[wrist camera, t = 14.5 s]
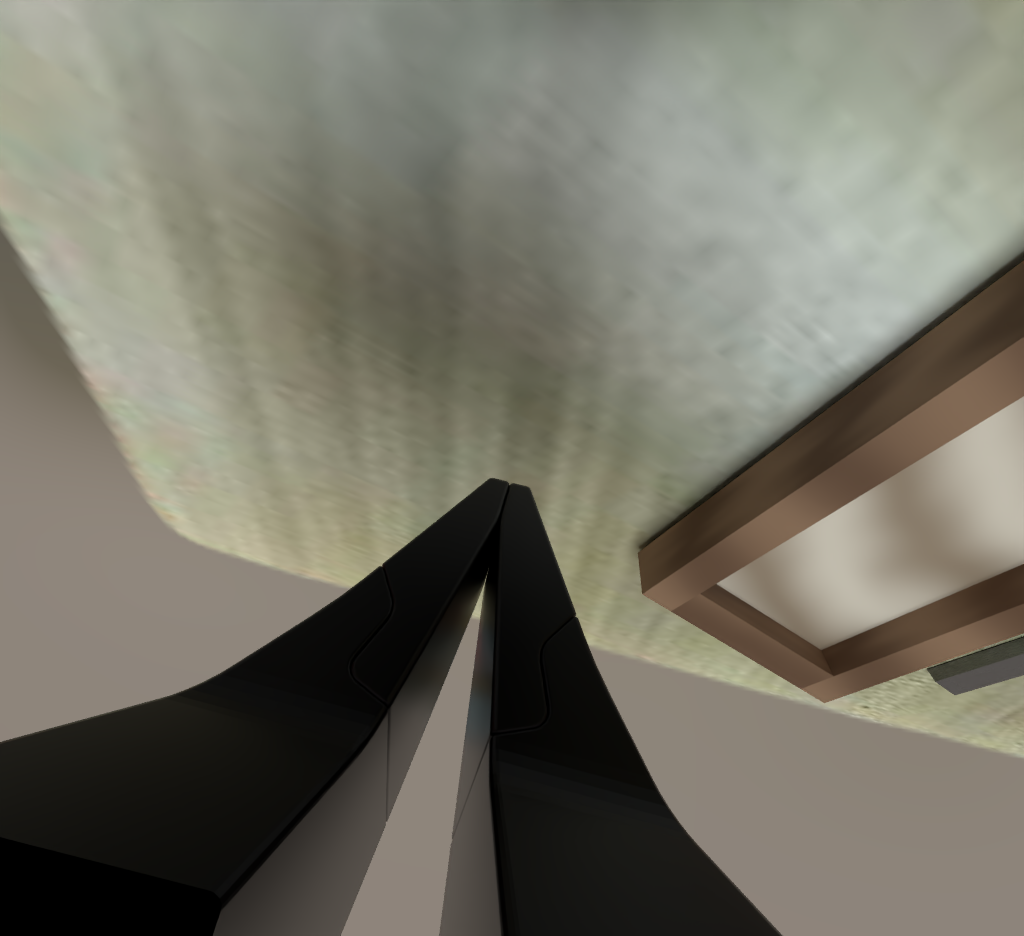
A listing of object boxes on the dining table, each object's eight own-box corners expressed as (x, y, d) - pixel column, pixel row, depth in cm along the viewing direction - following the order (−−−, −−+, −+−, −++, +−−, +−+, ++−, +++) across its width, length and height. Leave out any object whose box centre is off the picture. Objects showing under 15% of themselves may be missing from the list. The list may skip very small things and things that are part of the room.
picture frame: (1156, 159, 12) (1337, 155, 9) (1393, 454, 16) (1586, 523, 13) (637, 552, 25) (643, 606, 22) (831, 673, 28) (860, 734, 25)
